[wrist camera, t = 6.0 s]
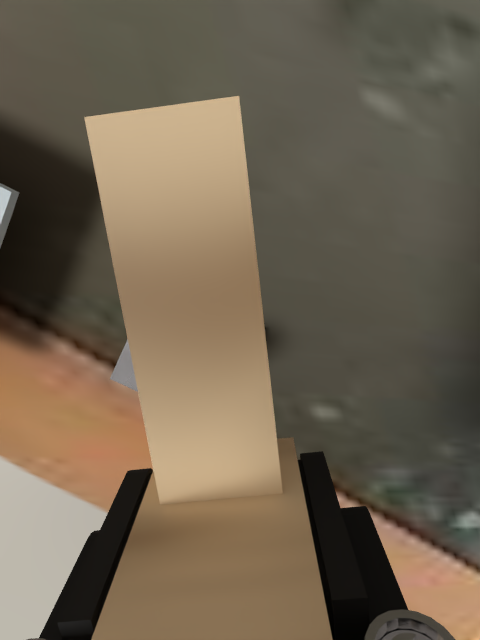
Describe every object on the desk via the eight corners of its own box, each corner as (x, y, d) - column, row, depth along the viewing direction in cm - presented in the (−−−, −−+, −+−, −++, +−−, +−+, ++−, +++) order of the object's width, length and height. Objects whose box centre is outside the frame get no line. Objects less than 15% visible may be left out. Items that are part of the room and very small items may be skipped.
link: (372, 760, 13) (448, 1098, 8) (175, 772, 13) (132, 1104, 8) (332, 110, 8) (451, -32, 3) (34, 150, 9) (-245, 71, 4)
